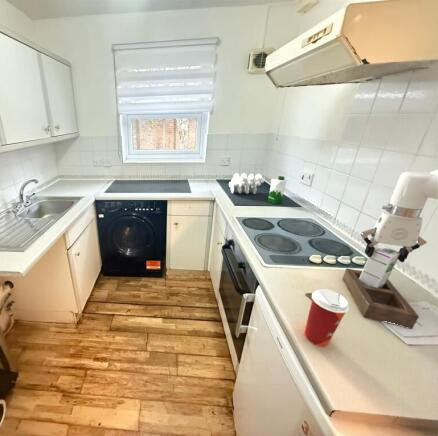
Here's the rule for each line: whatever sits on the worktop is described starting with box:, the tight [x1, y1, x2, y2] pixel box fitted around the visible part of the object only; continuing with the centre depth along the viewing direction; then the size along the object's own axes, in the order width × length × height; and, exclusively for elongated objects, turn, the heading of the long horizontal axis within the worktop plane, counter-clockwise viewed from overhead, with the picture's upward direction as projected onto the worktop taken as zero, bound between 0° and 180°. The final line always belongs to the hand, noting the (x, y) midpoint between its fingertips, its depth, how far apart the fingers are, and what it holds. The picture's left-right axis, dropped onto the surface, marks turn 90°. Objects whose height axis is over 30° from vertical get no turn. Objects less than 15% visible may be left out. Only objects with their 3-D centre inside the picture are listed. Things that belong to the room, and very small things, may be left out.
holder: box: [342, 268, 420, 330], centre depth 83 cm, size 12×22×5 cm, turn 157°
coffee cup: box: [304, 288, 350, 347], centre depth 67 cm, size 8×8×15 cm
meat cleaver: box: [304, 292, 314, 300], centre depth 82 cm, size 12×1×5 cm
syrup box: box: [359, 245, 401, 288], centre depth 84 cm, size 6×6×14 cm
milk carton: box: [266, 175, 288, 206], centre depth 179 cm, size 9×9×20 cm
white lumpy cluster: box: [228, 172, 265, 195], centre depth 202 cm, size 18×18×25 cm
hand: (383, 257), depth 83 cm, fingers closed on syrup box, 8 cm apart
